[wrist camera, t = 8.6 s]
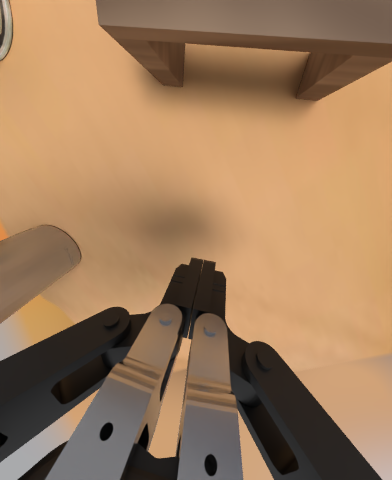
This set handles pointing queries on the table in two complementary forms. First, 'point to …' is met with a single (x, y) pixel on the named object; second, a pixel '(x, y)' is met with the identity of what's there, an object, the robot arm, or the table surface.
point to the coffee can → (5, 27)
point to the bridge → (257, 34)
